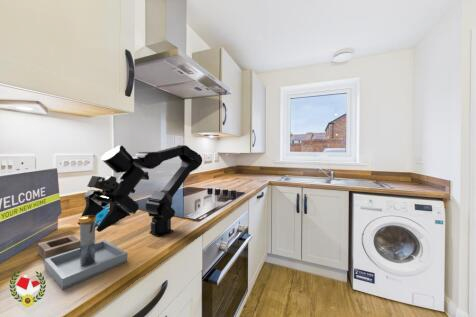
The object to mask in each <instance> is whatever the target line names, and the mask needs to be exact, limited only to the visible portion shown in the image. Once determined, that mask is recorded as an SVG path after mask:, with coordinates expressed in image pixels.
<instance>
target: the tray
mask: <svg viewBox="0 0 476 317" xmlns="http://www.w3.org/2000/svg"><path fill="white" fill-rule="evenodd" d="M127 262H128V252H127V251H125V250H123V249H121V248H119V247H118V246H116V245H114V244H113V243H110V242H109V241H107V240H106V239H104V240H101V241H97V242H95V262H94V263H93V264H90V265H87V266H81V265H80V248H78V249H75V250H72V251H69V252H65V253H62V254H59V255H56V256H53V257H50V258H47V259H45V261H44V269H45V271H46V272H47V273H48V275H49V276H50V277H51V279H53V281H54V282H55V283H56V284H57V285H58V287H59V288H60V289H61V290H62V291H65V289H68V288H70V287H72V286H73V287H74V286H75V285H78V284H80V283H82V282H84V281H86V280H89V279H91V278H93V277H95V276H97V275H100V274H102V273H104V272H106V271H109V270H111V269H114V268H116V267H118V266H120V265H123V264H125V263H127Z"/></svg>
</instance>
